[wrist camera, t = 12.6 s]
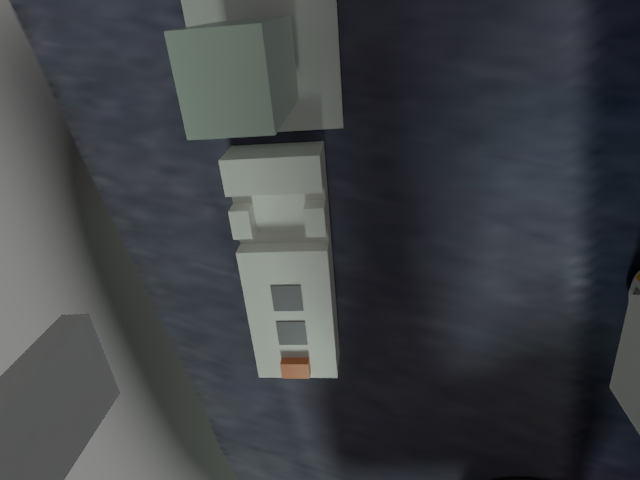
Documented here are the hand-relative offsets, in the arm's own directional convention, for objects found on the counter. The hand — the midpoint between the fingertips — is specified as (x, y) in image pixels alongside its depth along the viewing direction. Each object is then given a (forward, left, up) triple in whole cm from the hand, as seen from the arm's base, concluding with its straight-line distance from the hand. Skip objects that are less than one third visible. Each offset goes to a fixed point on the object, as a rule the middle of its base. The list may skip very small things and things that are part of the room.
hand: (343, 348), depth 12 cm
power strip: (-11, +6, -24) cm, 27 cm away
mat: (+5, +6, -24) cm, 25 cm away
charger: (+5, +6, -24) cm, 25 cm away
